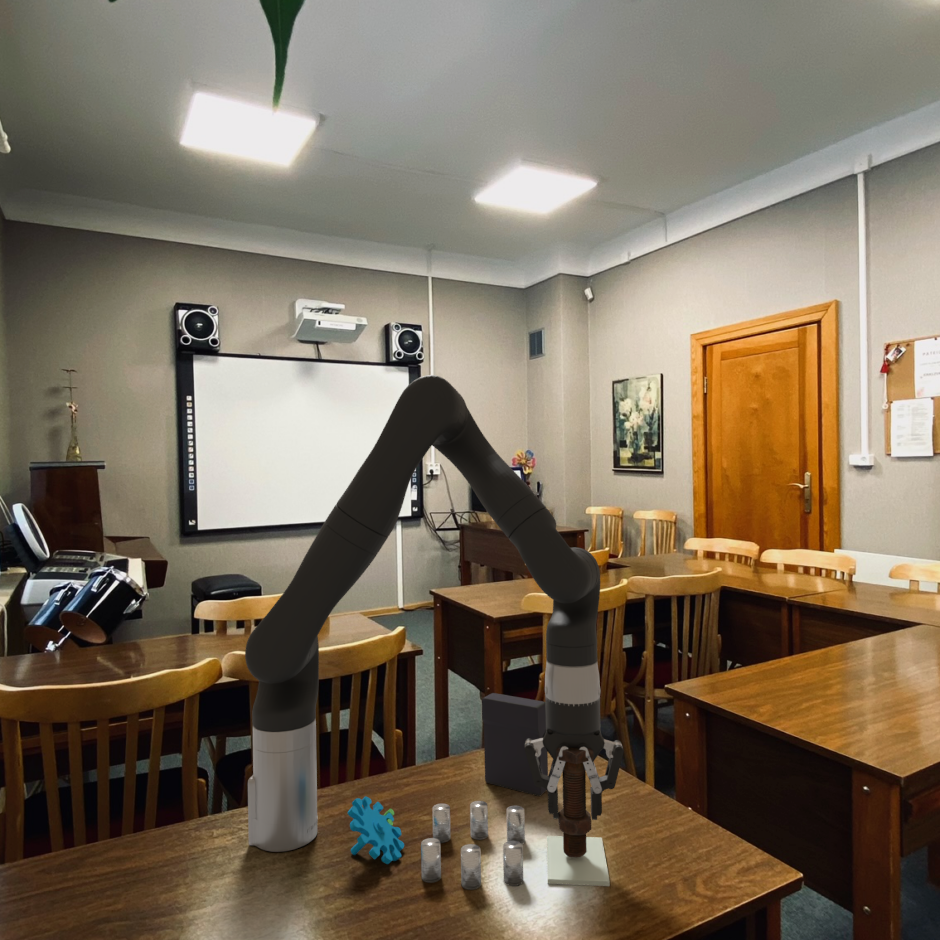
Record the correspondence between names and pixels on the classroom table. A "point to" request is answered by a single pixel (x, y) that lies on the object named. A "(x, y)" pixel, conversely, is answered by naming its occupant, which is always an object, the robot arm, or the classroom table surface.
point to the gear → (375, 830)
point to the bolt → (574, 802)
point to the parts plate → (577, 864)
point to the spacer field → (472, 851)
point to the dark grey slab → (512, 741)
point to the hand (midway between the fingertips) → (574, 816)
